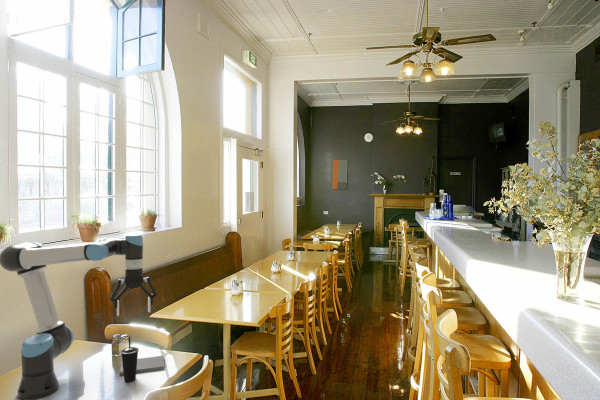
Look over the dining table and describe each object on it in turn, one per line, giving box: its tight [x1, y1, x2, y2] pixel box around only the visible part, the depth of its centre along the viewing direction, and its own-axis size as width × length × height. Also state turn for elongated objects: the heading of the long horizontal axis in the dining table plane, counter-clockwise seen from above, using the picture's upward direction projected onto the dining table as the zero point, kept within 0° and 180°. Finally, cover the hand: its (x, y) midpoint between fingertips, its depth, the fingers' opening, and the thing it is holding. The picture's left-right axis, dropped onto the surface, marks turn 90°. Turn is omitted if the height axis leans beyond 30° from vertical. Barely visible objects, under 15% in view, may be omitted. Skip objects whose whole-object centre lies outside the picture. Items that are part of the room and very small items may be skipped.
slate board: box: [119, 355, 165, 376], centre depth 210 cm, size 20×14×2 cm
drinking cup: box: [120, 335, 139, 383], centre depth 195 cm, size 8×8×20 cm
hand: (133, 313), depth 198 cm, fingers open, 13 cm apart
